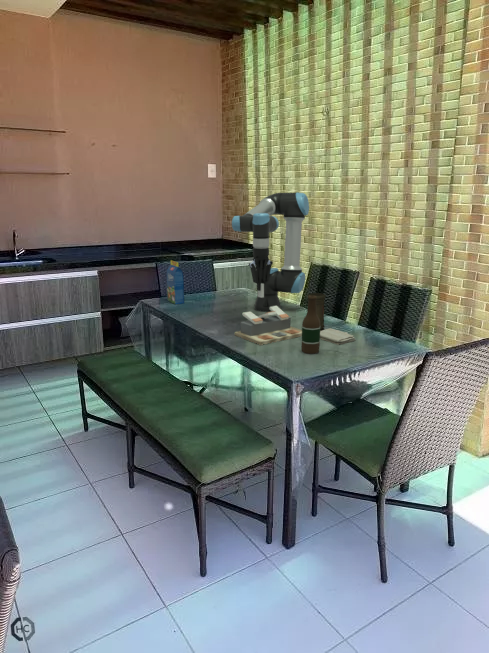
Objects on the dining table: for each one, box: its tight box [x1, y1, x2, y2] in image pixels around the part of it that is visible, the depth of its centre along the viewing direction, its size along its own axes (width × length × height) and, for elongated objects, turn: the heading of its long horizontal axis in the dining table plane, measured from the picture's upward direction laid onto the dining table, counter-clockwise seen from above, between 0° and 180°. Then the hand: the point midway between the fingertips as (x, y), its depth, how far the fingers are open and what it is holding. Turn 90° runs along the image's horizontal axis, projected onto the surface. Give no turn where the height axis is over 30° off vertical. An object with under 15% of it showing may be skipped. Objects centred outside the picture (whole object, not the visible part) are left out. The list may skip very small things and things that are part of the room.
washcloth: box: [320, 327, 356, 346], centre depth 229 cm, size 12×18×3 cm, turn 38°
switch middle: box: [256, 311, 276, 319], centre depth 235 cm, size 4×10×2 cm, turn 36°
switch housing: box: [239, 315, 292, 336], centre depth 237 cm, size 24×8×5 cm, turn 126°
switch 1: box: [242, 311, 263, 324], centre depth 231 cm, size 4×10×2 cm, turn 36°
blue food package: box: [166, 259, 185, 305], centre depth 301 cm, size 6×12×25 cm, turn 31°
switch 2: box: [269, 306, 290, 320], centre depth 240 cm, size 4×10×2 cm, turn 36°
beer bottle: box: [301, 295, 321, 355], centre depth 208 cm, size 8×8×24 cm
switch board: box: [234, 325, 302, 346], centre depth 234 cm, size 28×20×2 cm
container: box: [307, 292, 327, 331], centre depth 239 cm, size 9×9×18 cm
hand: (260, 296), depth 238 cm, fingers closed
